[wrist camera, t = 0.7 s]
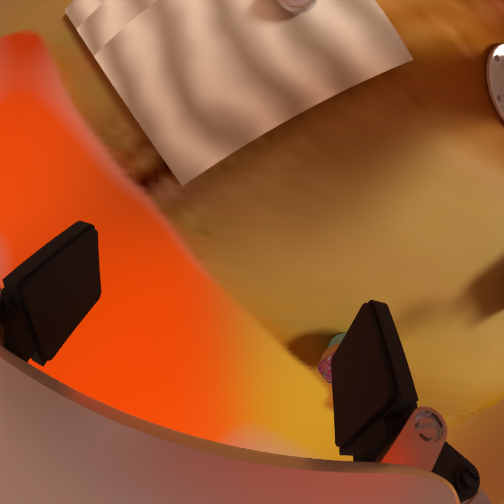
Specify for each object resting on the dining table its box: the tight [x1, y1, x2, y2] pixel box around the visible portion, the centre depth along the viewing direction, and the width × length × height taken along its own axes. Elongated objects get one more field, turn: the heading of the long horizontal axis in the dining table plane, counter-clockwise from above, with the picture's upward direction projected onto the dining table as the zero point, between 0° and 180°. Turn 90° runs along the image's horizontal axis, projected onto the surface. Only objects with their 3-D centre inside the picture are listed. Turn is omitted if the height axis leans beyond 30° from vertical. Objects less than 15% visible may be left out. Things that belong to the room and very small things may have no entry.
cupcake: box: [318, 333, 346, 383], centre depth 37 cm, size 9×8×12 cm
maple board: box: [64, 0, 413, 186], centre depth 23 cm, size 30×32×2 cm
